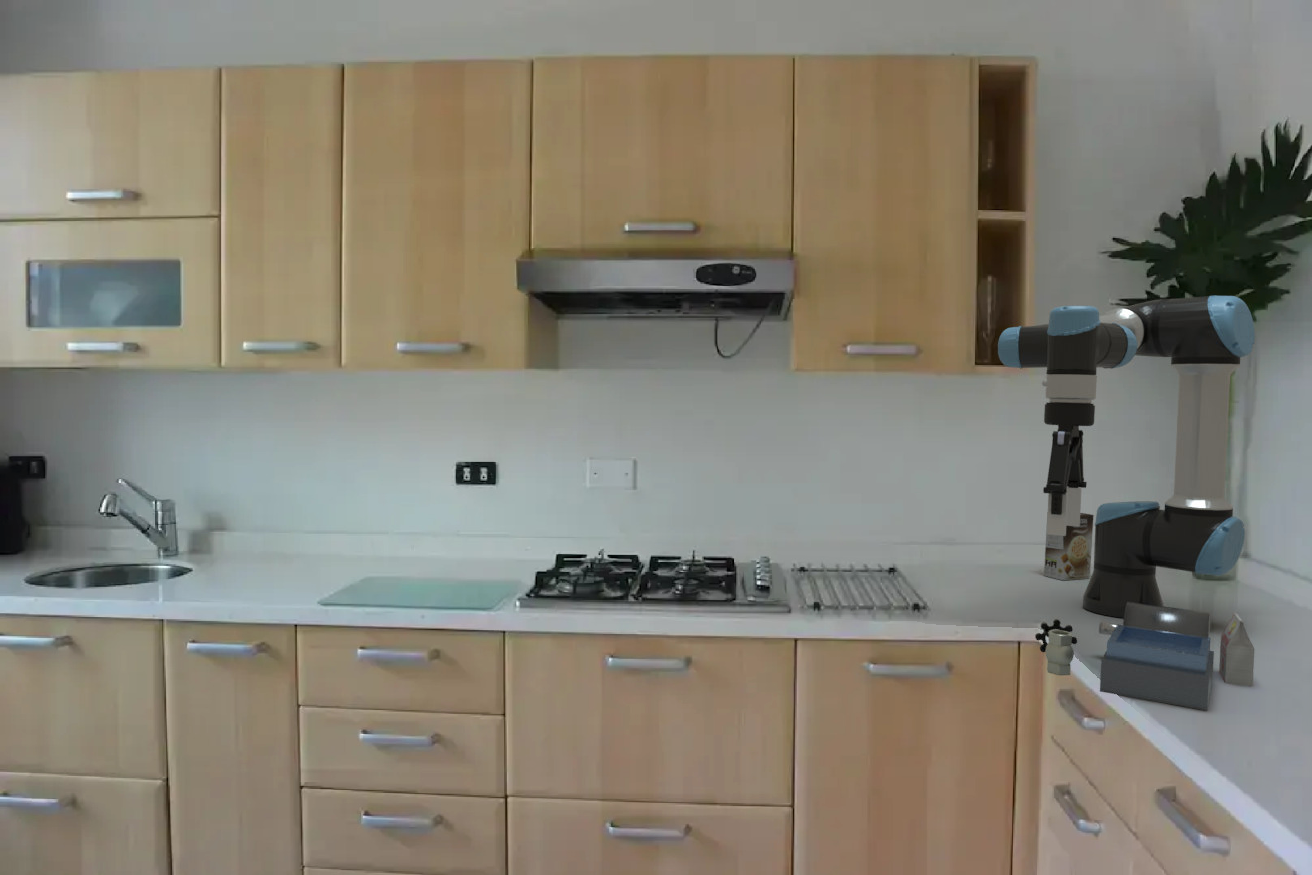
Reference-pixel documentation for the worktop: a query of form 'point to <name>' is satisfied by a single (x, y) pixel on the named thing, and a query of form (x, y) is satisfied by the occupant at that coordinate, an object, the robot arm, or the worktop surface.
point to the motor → (1159, 656)
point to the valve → (1057, 647)
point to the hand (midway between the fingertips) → (1063, 530)
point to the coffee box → (1070, 551)
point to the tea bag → (1236, 654)
